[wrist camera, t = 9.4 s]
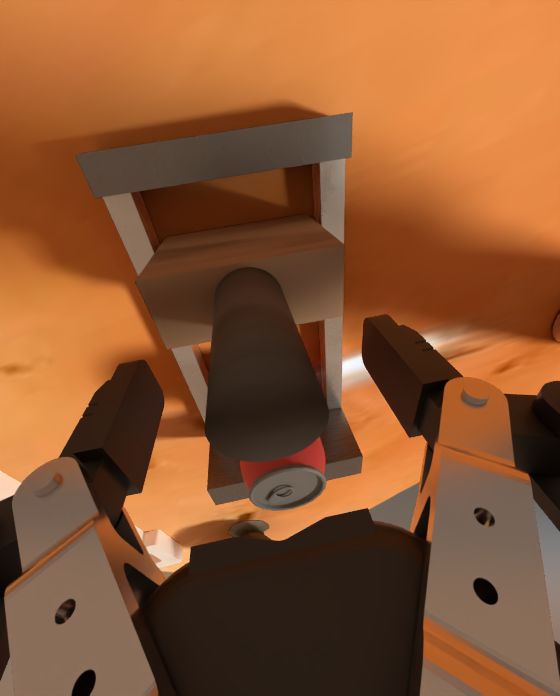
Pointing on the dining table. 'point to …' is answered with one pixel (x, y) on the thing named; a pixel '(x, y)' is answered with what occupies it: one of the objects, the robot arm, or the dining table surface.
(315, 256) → the sliding jaw
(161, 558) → the holder
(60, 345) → the dining table surface
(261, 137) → the frame
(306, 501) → the beer can
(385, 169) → the dining table surface
